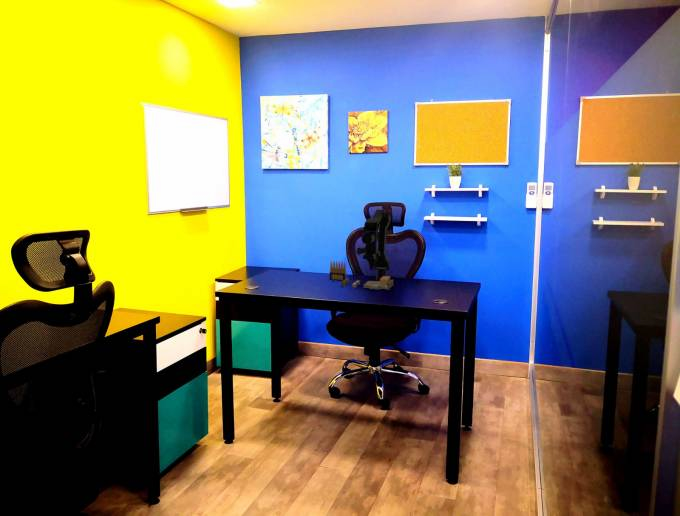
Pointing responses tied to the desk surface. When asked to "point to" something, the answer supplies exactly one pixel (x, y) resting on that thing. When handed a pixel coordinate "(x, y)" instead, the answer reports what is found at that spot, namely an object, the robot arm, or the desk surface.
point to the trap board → (369, 284)
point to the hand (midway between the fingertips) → (371, 270)
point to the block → (384, 280)
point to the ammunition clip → (337, 271)
